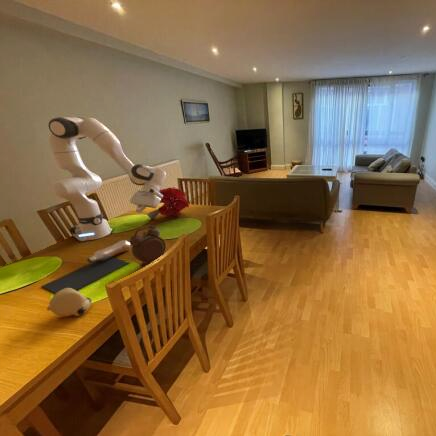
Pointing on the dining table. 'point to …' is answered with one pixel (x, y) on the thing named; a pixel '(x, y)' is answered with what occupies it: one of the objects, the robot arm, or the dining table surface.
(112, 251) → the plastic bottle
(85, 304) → the beige rounded lump
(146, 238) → the alarm clock
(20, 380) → the dining table surface
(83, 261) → the dining table surface
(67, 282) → the mat
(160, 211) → the bouquet
